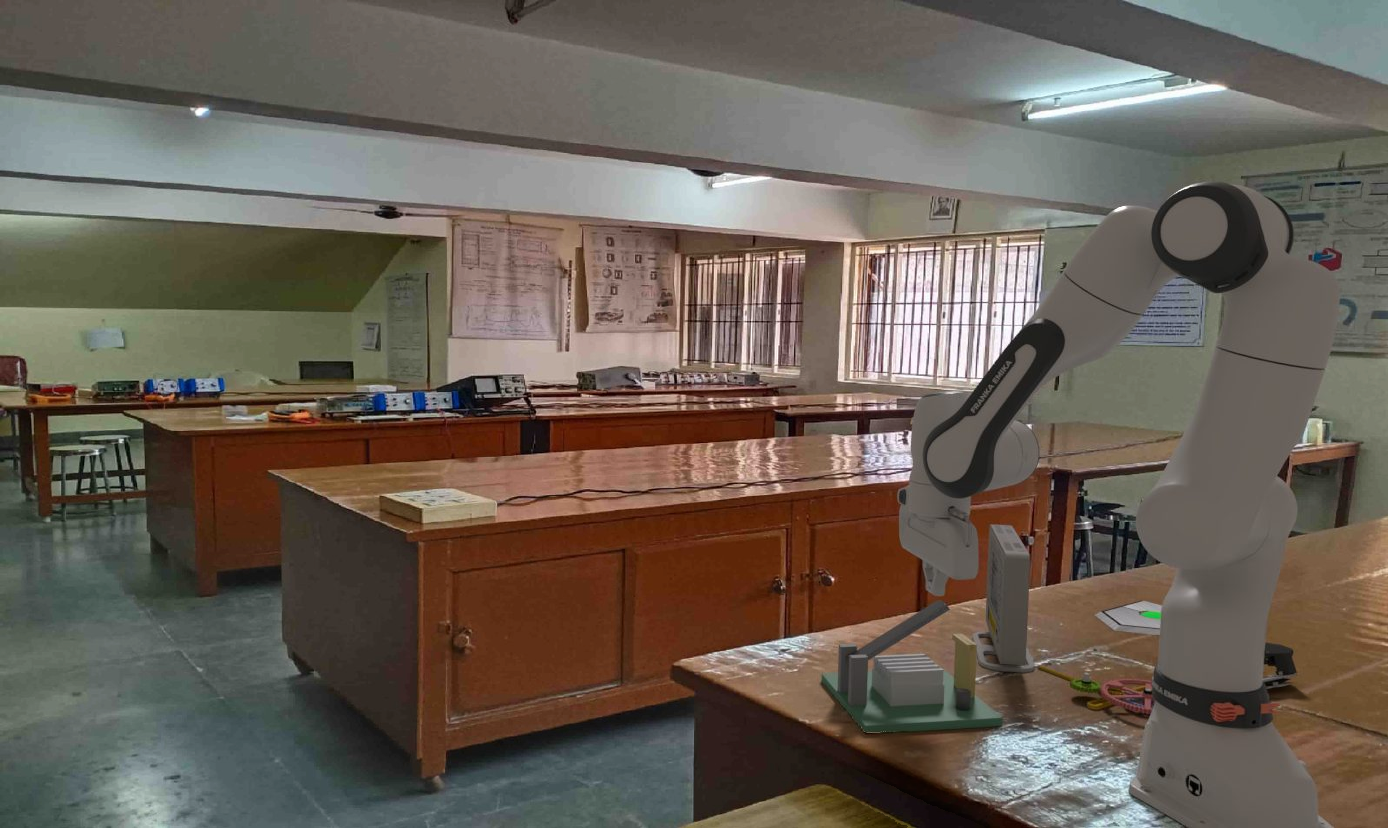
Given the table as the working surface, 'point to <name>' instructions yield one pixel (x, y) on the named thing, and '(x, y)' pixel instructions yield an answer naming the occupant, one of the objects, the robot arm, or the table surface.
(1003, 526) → the network device
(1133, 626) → the security device
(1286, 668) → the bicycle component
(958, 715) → the board
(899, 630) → the strap
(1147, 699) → the mechanical gear assembly
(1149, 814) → the table surface
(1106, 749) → the table surface
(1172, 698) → the robot arm
